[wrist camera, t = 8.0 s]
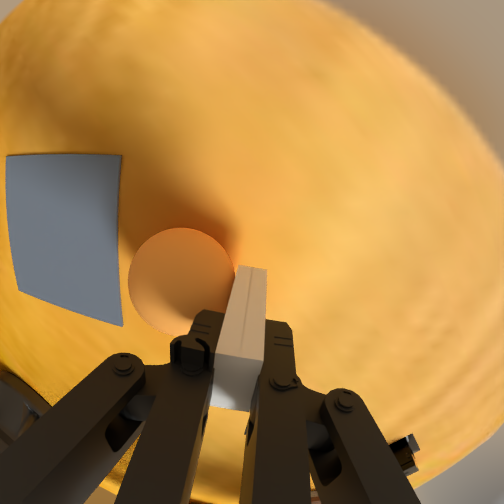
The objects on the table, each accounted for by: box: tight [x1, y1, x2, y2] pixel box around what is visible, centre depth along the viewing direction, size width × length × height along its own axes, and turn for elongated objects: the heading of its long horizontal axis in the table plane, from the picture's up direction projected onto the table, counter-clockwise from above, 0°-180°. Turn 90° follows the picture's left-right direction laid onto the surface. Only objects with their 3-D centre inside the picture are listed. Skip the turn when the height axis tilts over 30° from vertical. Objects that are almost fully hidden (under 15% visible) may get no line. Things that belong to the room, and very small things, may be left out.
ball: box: [128, 228, 235, 336], centre depth 14 cm, size 6×6×6 cm
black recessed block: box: [389, 434, 420, 476], centre depth 23 cm, size 12×7×5 cm, turn 35°
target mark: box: [6, 154, 123, 327], centre depth 16 cm, size 12×12×1 cm
